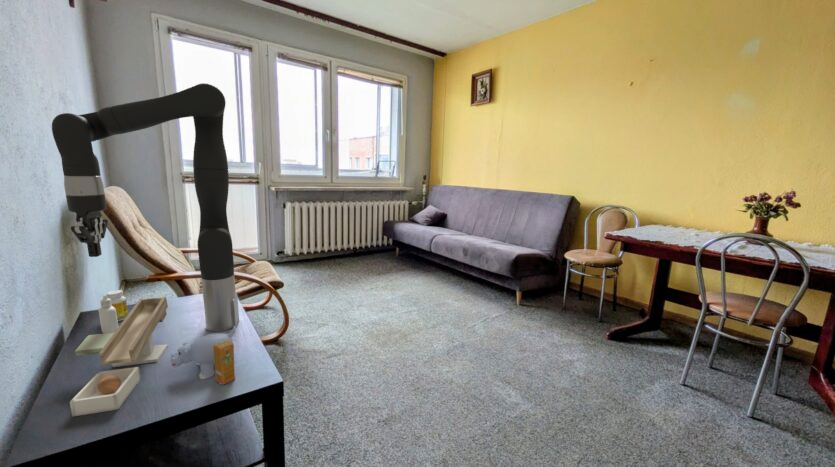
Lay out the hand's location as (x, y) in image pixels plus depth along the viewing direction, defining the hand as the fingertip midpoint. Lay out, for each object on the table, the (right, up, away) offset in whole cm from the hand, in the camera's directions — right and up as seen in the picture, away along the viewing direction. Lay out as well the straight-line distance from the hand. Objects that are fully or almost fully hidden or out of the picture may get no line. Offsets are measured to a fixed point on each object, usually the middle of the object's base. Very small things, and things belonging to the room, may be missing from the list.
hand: (95, 256), depth 95 cm
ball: (+18, -29, -16) cm, 37 cm away
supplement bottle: (-13, -23, +22) cm, 34 cm away
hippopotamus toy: (+33, -30, -3) cm, 44 cm away
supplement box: (+41, -31, -9) cm, 52 cm away
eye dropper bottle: (-8, -25, +13) cm, 29 cm away
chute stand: (+12, -28, 0) cm, 31 cm away
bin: (+18, -31, -16) cm, 39 cm away
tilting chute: (+9, -23, -1) cm, 25 cm away
